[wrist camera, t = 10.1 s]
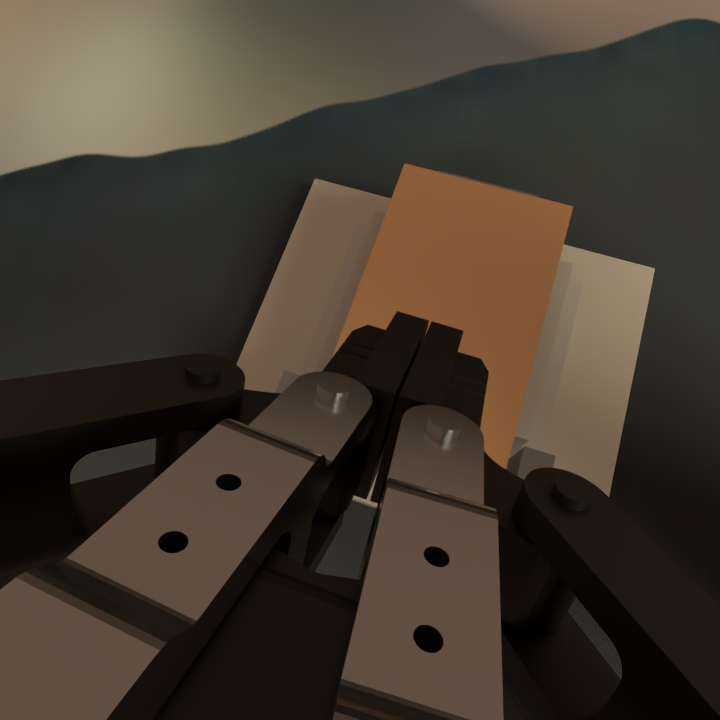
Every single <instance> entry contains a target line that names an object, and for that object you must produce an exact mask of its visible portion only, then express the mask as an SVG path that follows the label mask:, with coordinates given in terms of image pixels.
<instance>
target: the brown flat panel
mask: <svg viewBox="0 0 720 720" xmlns="http://www.w3.org/2000/svg"><path fill="white" fill-rule="evenodd" d="M572 209H573V206H569V205H565V204H561V203H557V202H554V201H550V200H546V199H542V198H538V197H534V196H530V195H526V194H522V193H518V192H514V191H511V190H507V189H503V188H499V187H495V186H491V185H487V184H483V183H479V182H475V181H472V180H468V179H464V178H460V177H456V176H452V175H448V174H444V173H440V172H436V171H432V170H429V169H425V168H421V167H417V166H413V165H409V164H404V166H403V169H402V172H401V174H400V177H399V180H398V182H397V185H396V188H395V190H394V193H393V196H392V198H391V201H390V204H389V206H388V209H387V212H386V214H385V217H384V220H383V222H382V225H381V228H380V230H379V233H378V236H377V238H376V241H375V244H374V246H373V249H372V252H371V254H370V257H369V260H368V262H367V265H366V268H365V270H364V273H363V276H362V278H361V281H360V284H359V287H358V289H357V292H356V295H355V297H354V300H353V303H352V305H351V308H350V311H349V313H348V316H347V319H346V321H345V324H344V327H343V329H342V332H341V335H340V337H339V340H338V343H337V345H336V348H335V351H334V353H333V356H334V355H335V353H336V352H337V351H338V350H339V348H340V347H341V345H342V344H343V343H344V342H345V340H346V339H347V337H348V336H349V335H350V333H351V332H352V331H353V330H355V329H358V328H360V327H363V326H366V325H371V326H374V327H378V328H381V329H384V330H386V328H387V327H388V325H389V323H390V322H391V320H392V319H393V317H394V315H395V314H396V312H397V311H399V312H402V313H406V314H409V315H413V316H416V317H419V318H423V319H426V320H429V324H428V328H429V326H430V324H431V322H432V321H433V322H436V323H440V324H443V325H446V326H450V327H453V328H457V329H460V330H463V331H464V332H463V335H462V338H461V342H460V345H459V349H458V352H460V353H464V354H467V355H470V356H474V357H477V358H480V359H481V360H482V361H483V363H484V365H485V366H486V368H487V370H488V371H489V375H488V382H487V386H486V387H487V388H486V394H485V401H484V407H483V413H482V420H481V426H480V430H481V431H482V434H483V436H484V451H485V452H486V453H487V454H488V456H489V457H490V458H491V459H492V460H494V461H495V462H496V463H497V464H498V465H500V466H501V467H503V468H504V469H506V468H507V464H508V460H509V456H510V452H511V448H512V444H513V441H514V437H515V433H516V429H517V425H518V421H519V417H520V413H521V409H522V405H523V401H524V397H525V394H526V390H527V386H528V382H529V378H530V374H531V370H532V366H533V362H534V358H535V354H536V350H537V346H538V343H539V339H540V335H541V331H542V327H543V323H544V319H545V315H546V311H547V307H548V303H549V299H550V296H551V292H552V288H553V284H554V280H555V276H556V272H557V268H558V264H559V260H560V256H561V252H562V249H563V245H564V241H565V237H566V233H567V229H568V225H569V221H570V217H571V213H572ZM428 328H427V331H428ZM426 333H427V332H426ZM333 356H332V357H333Z"/></svg>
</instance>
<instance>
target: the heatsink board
mask: <svg viewBox="0 0 720 720" xmlns="http://www.w3.org/2000/svg"><path fill="white" fill-rule="evenodd" d="M438 172H440V173H444V174H448V175H452V176H456V177H460V178H464V179H468V180H472V181H475V182H479V183H483V184H487V185H491V186H495V187H499V188H503V189H507V190H511V191H514V192H518V193H522V194H526V195H530V196H534V197H539V196H538V195H534V194H530V193H526V192H522V191H518V190H514V189H510V188H506V187H503V186H499V185H495V184H491V183H487V182H483V181H479V180H475V179H471V178H467V177H463V176H459V175H456V174H452V173H448V172H444V171H440V170H439V171H438ZM390 201H391V198H387V197H383V196H379V195H376V194H372V193H368V192H364V191H361V190H357V189H353V188H349V187H345V186H342V185H338V184H334V183H330V182H327V181H323V180H319V179H315V180H314V182H313V184H312V187H311V189H310V192H309V194H308V196H307V199H306V201H305V203H304V206H303V208H302V210H301V213H300V215H299V218H298V220H297V222H296V225H295V227H294V229H293V232H292V234H291V236H290V239H289V241H288V244H287V246H286V248H285V251H284V253H283V255H282V258H281V260H280V262H279V265H278V267H277V270H276V272H275V274H274V277H273V279H272V281H271V284H270V286H269V288H268V291H267V293H266V296H265V298H264V300H263V303H262V305H261V307H260V310H259V312H258V315H257V317H256V319H255V322H254V324H253V326H252V329H251V331H250V333H249V336H248V338H247V341H246V343H245V345H244V348H243V350H242V352H241V355H240V357H239V359H238V362H237V364H236V365H237V366H239V367H240V368H241V369H242V371H243V372H244V375H245V386H244V389H247V390H254V391H262V392H271V393H282V392H283V391H284V390H285V389H286V388H287V387H288V386H289V385H290V384H291V383H293V382H294V381H295V380H296V379H297V378H298V377H299V376H302V375H304V374H307V373H311V372H322V371H323V369H324V368H325V367H326V365H327V364H328V363H329V361H330V360H331V359H332V356H333V353H334V351H335V348H336V345H337V343H338V340H339V337H340V335H341V332H342V329H343V327H344V324H345V321H346V319H347V316H348V313H349V311H350V308H351V305H352V303H353V300H354V297H355V295H356V292H357V289H358V287H359V284H360V281H361V278H362V276H363V273H364V270H365V268H366V265H367V262H368V260H369V257H370V254H371V252H372V249H373V246H374V244H375V241H376V238H377V236H378V233H379V230H380V228H381V225H382V222H383V220H384V217H385V214H386V212H387V209H388V206H389V204H390ZM654 271H655V269H654V268H650V267H647V266H643V265H639V264H635V263H632V262H628V261H624V260H620V259H617V258H613V257H609V256H605V255H602V254H598V253H594V252H590V251H586V250H583V249H579V248H575V247H571V246H568V245H563V249H562V252H561V256H560V260H559V264H558V268H557V272H556V276H555V280H554V284H553V288H552V292H551V296H550V299H549V303H548V307H547V311H546V315H545V319H544V323H543V327H542V331H541V335H540V339H539V343H538V346H537V350H536V354H535V358H534V362H533V366H532V370H531V374H530V378H529V382H528V386H527V390H526V394H525V397H524V401H523V405H522V409H521V413H520V417H519V421H518V425H517V429H516V433H515V437H514V441H513V444H512V448H511V452H510V456H509V460H508V464H507V468H506V470H508V471H509V472H511V473H513V474H515V475H516V476H518V477H520V478H522V479H524V480H525V477H526V476H527V474H528V473H529V472H531V471H532V470H534V469H538V468H545V467H549V468H557V469H562V470H566V471H569V472H572V473H574V474H577V475H579V476H581V477H583V478H585V479H586V480H588V481H590V482H591V483H593V484H594V485H596V486H597V487H598V488H599V489H601V490H602V491H603V492H604V493H605V494H606V495H607V496H608V497H609V494H610V489H611V485H612V480H613V475H614V470H615V465H616V460H617V455H618V450H619V445H620V440H621V435H622V430H623V425H624V420H625V415H626V410H627V405H628V400H629V395H630V390H631V385H632V380H633V375H634V370H635V365H636V360H637V355H638V350H639V345H640V340H641V335H642V330H643V325H644V320H645V315H646V310H647V305H648V300H649V296H650V291H651V286H652V281H653V276H654ZM377 474H378V473H377ZM376 477H377V475H376ZM375 481H376V478H375V480H374V483H373V485H372V487H371V490H370V492H369V495H368V497H367V500H365V499H363V498H360V497H357V496H353V499H352V501H355V502H358V503H361V504H364V505H367V506H370V507H372V508H375V509H376V508H377V503H375V502H372V501H370V499H371V495H372V492H373V488H374V485H375Z"/></svg>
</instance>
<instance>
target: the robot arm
mask: <svg viewBox="0 0 720 720" xmlns="http://www.w3.org/2000/svg"><path fill="white" fill-rule="evenodd" d="M428 324H429V320H426V319H423V318H419V317H416V316H413V315H409V314H406V313H402V312H399V311H397V312H396V314H395V315H394V317H393V319H392V320H391V322H390V323H389V325H388V327H387V328H386V330H384V329H381V328H378V327H374V326H371V325H366V326H363V327H360V328H358V329H355V330H353V331H352V332H351V333H350V335H349V336H348V337H347V339H346V340H345V342H344V343H343V344H342V345H341V347H340V348H339V350H338V351H337V352H336V353H335V355H334V356H333V357H332V359H331V360H330V361H329V363H328V364H327V365H326V367H325V368H324V369H323V371H322V372H311V373H307V374H304V375H302V376H299V377H298V378H297V379H296V380H295V381H294V382H293V383H291V384H290V385H289V386H288V387H287V388H286V389H285V390H284V391H283V392H282V393H271V392H262V391H254V390H247V389H244V386H245V375H244V372H243V371H242V369H241V368H240V367H239V366H237V365H236V364H234V363H233V362H231V361H229V360H227V359H224V358H221V357H217V356H212V355H205V354H190V355H181V356H174V357H167V358H160V359H153V360H145V361H138V362H131V363H124V364H117V365H109V366H102V367H95V368H88V369H81V370H73V371H66V372H59V373H52V374H45V375H38V376H30V377H23V378H16V379H9V380H2V381H0V720H720V605H719V604H718V603H717V602H716V601H715V600H714V599H713V598H712V597H711V596H710V595H709V594H708V593H707V592H706V591H705V590H704V589H703V588H702V587H701V586H700V585H699V584H698V583H697V582H696V581H695V580H694V579H693V578H692V577H691V576H690V575H688V574H687V573H686V572H685V571H684V570H683V569H682V568H681V567H680V566H679V565H678V564H677V563H676V562H675V561H674V560H673V559H672V558H671V557H670V556H669V555H668V554H667V553H666V552H665V551H664V550H663V549H662V548H661V547H660V546H659V545H658V544H657V543H656V542H655V541H653V540H652V539H651V538H650V537H649V536H648V535H647V534H646V533H645V532H644V531H643V530H642V529H641V528H640V527H639V526H638V525H637V524H636V523H635V522H634V521H633V520H632V519H631V518H630V517H629V516H628V515H627V514H626V513H625V512H624V511H623V510H622V509H621V508H619V507H618V506H617V505H616V504H615V503H614V502H613V501H612V500H611V499H610V498H609V497H608V496H607V495H606V494H605V493H604V492H603V491H602V490H601V489H599V488H598V487H597V486H596V485H594V484H593V483H591V482H590V481H588V480H586V479H585V478H583V477H581V476H579V475H577V474H574V473H572V472H569V471H566V470H562V469H557V468H549V467H545V468H538V469H534V470H532V471H531V472H529V473H528V474H527V476H526V477H525V480H524V479H522V478H520V477H518V476H516V475H515V474H513V473H511V472H509V471H508V470H506V469H504V468H503V467H501V466H500V465H498V464H497V463H496V462H495V461H494V460H492V459H491V458H490V457H489V456H488V454H487V453H486V452H485V451H484V436H483V434H482V431H481V430H480V426H481V420H482V413H483V407H484V401H485V394H486V388H487V387H486V386H487V382H488V375H489V371H488V370H487V368H486V366H485V365H484V363H483V361H482V360H481V359H480V358H477V357H474V356H470V355H467V354H464V353H460V352H458V349H459V345H460V342H461V338H462V335H463V332H464V331H463V330H460V329H457V328H453V327H450V326H446V325H443V324H440V323H436V322H433V321H432V322H431V324H430V326H429V328H428ZM427 328H428V331H427ZM426 332H427V333H426ZM153 438H156V454H155V464H151V465H147V466H143V467H139V468H135V469H131V470H127V471H123V472H119V473H115V474H111V475H107V476H103V477H99V478H95V479H91V480H87V481H83V482H78V483H74V484H70V473H71V470H72V468H73V466H74V465H75V464H76V462H78V461H79V460H80V459H81V458H82V457H84V456H85V455H87V454H89V453H92V452H95V451H99V450H103V449H108V448H112V447H117V446H121V445H126V444H131V443H135V442H140V441H144V440H149V439H153ZM377 473H378V474H377ZM376 475H377V477H376ZM375 478H376V481H375V485H374V488H373V492H372V495H371V499H370V501H372V502H375V503H377V508H376V511H375V515H374V518H373V522H372V525H371V529H370V532H369V536H368V540H367V543H366V547H365V551H364V555H363V559H362V563H361V567H360V571H359V575H358V579H357V580H356V579H350V578H343V577H336V576H330V575H323V574H319V573H316V572H315V570H316V569H317V567H318V565H319V563H320V562H321V560H322V558H323V556H324V555H325V553H326V551H327V549H328V548H329V546H330V544H331V542H332V541H333V539H334V537H335V535H336V534H337V532H338V530H339V528H340V526H341V524H342V520H343V516H344V512H345V511H346V509H347V508H348V507H349V505H350V503H351V501H352V499H353V496H357V497H360V498H363V499H365V500H367V497H368V495H369V492H370V490H371V487H372V485H373V483H374V480H375ZM575 597H577V598H578V600H579V601H580V602H581V603H582V605H583V606H584V607H585V608H586V610H587V611H588V612H589V613H590V615H591V616H592V617H593V618H594V619H595V621H596V622H597V623H598V624H599V626H600V627H601V628H602V629H603V631H604V632H605V633H606V634H607V636H608V637H609V638H610V639H611V641H612V642H613V644H614V645H615V647H616V649H617V651H618V653H619V656H620V659H621V663H622V678H621V680H620V678H619V677H618V676H617V674H616V673H615V672H614V671H613V669H612V668H611V667H610V665H609V664H608V663H607V662H606V660H605V659H604V658H603V656H602V655H601V654H600V653H599V651H598V650H597V649H596V647H595V646H594V645H593V644H592V642H591V641H590V640H589V638H588V637H587V636H586V635H585V633H584V632H583V631H582V629H581V628H580V627H579V625H578V624H577V623H576V622H575V620H574V619H573V618H572V616H571V615H570V614H569V613H568V610H569V608H570V606H571V604H572V603H573V601H574V599H575Z"/></svg>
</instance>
